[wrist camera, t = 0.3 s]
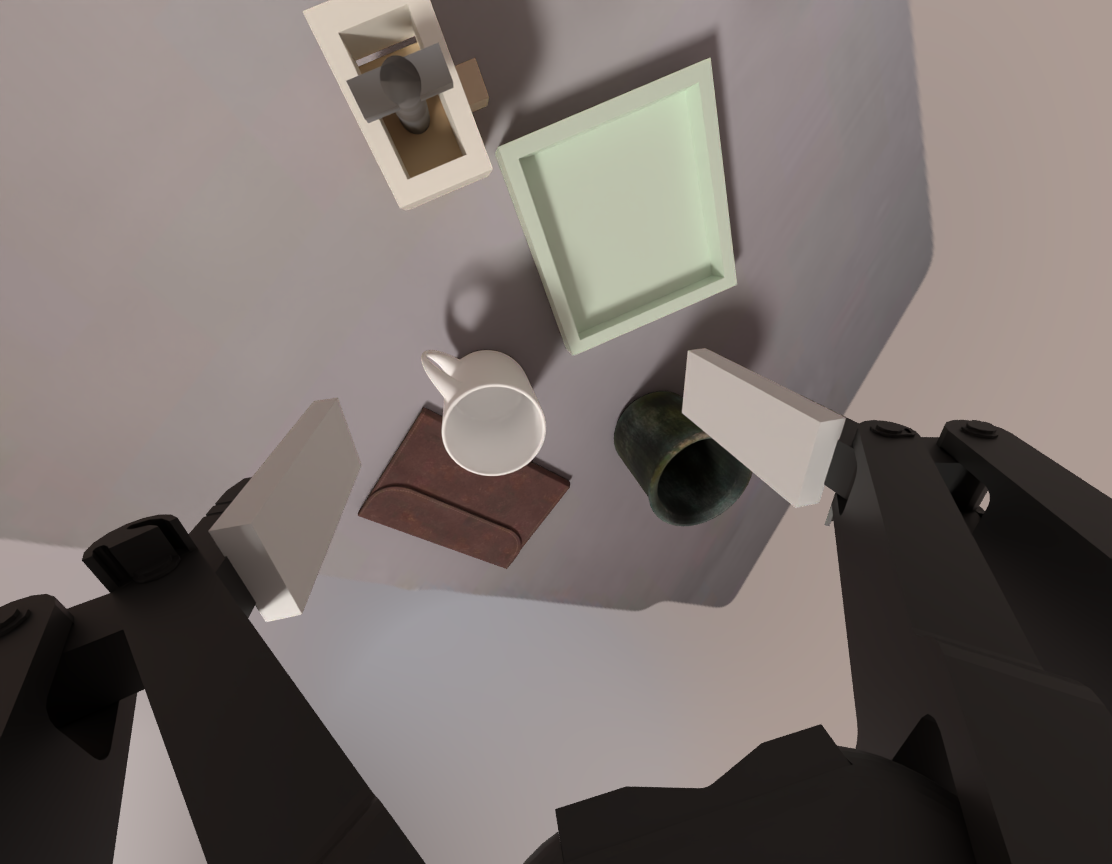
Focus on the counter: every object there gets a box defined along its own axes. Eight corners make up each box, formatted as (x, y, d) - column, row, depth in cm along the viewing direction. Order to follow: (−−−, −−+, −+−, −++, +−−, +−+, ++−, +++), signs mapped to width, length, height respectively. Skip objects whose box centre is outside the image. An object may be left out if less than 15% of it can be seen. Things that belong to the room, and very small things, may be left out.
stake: (361, 101, 30) (301, 23, 19) (439, 68, 30) (427, -29, 19) (406, 194, 33) (378, 176, 22) (476, 164, 33) (485, 130, 22)
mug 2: (590, 440, 48) (627, 499, 37) (673, 344, 44) (738, 379, 34) (649, 480, 53) (696, 542, 42) (727, 395, 49) (800, 440, 39)
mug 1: (455, 305, 38) (455, 330, 28) (543, 383, 43) (566, 426, 34) (399, 370, 39) (381, 414, 30) (491, 438, 45) (499, 492, 36)
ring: (325, 43, 24) (302, 11, 20) (447, -8, 24) (445, -48, 21) (407, 210, 29) (399, 208, 25) (508, 167, 29) (515, 159, 25)
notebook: (423, 404, 42) (422, 412, 40) (568, 478, 50) (572, 487, 48) (360, 507, 46) (356, 518, 44) (504, 560, 54) (505, 571, 52)
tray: (495, 153, 33) (498, 146, 30) (690, 70, 33) (710, 57, 31) (565, 348, 42) (572, 356, 39) (719, 281, 42) (737, 284, 40)
